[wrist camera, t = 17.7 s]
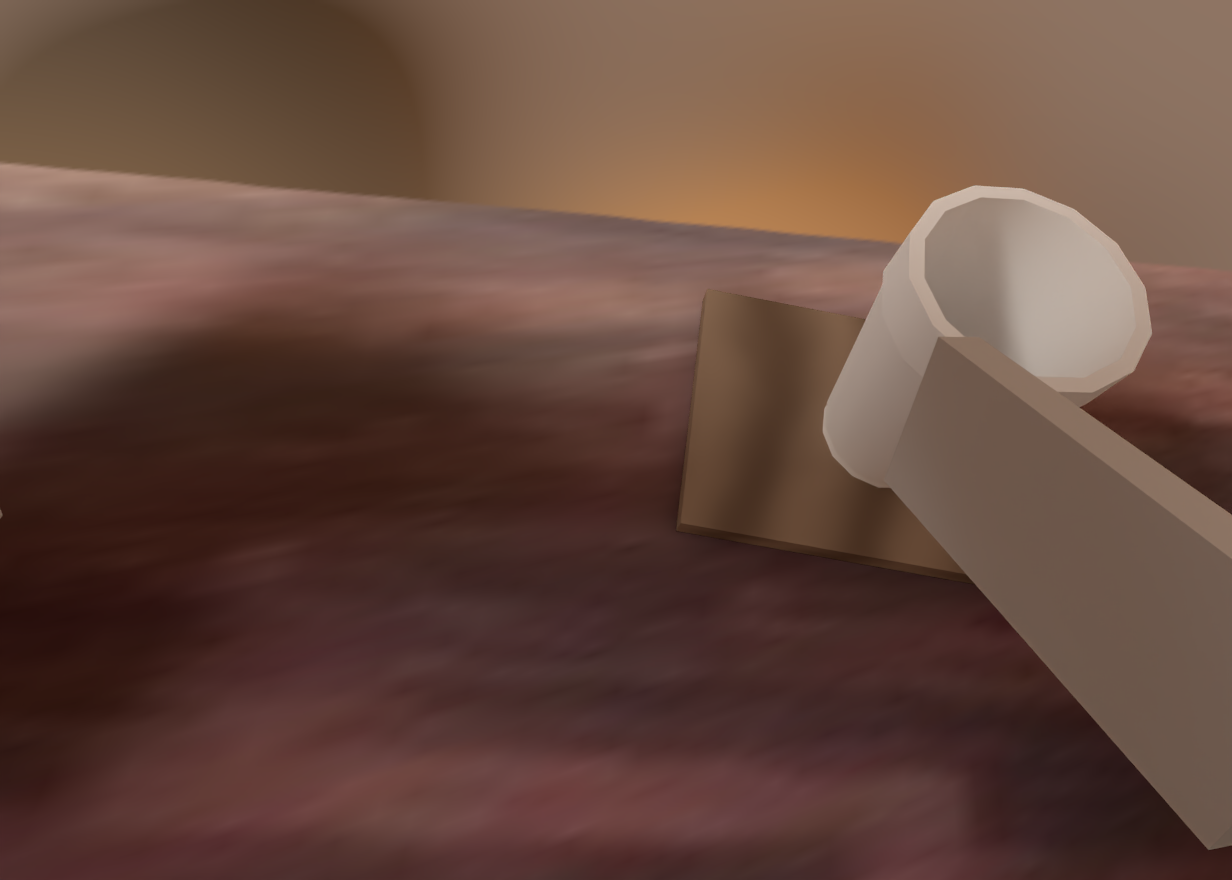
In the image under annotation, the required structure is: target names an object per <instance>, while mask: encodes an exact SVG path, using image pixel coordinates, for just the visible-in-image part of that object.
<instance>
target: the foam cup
mask: <svg viewBox="0 0 1232 880" xmlns="http://www.w3.org/2000/svg"><path fill="white" fill-rule="evenodd" d="M1151 335H1152V329H1151V322H1150V315H1149V309H1148V302H1147V295H1146V288H1145V286H1144V285H1143V283H1142V282H1141V280H1140V278H1139V277H1138V275H1137V274H1136V272H1135V271H1134V269H1133V268H1132V266H1131V264H1130V263H1129V261H1128V260H1127V258H1126V257H1125V255H1124V253H1123V252H1122V250H1121V249H1120V247H1119V246H1118V244H1117V243H1116V242H1114V241H1113V240H1112V239H1111V238H1109V237H1108V236H1107V235H1106V234H1104V233H1103V232H1102V231H1101V230H1100V229H1098V228H1097V227H1096V226H1095V225H1093V224H1092V223H1091V222H1090V221H1088V220H1087V219H1086V218H1085V217H1083V216H1082V215H1081V214H1080V213H1078V212H1077V211H1076V210H1075V209H1073V208H1070V207H1068V206H1065V205H1063V204H1060V203H1058V202H1055V201H1053V200H1050V199H1048V198H1045V197H1043V196H1041V195H1038V194H1036V193H1033V192H1031V191H1028V190H1026V189H1022V188H1005V187H988V186H972V187H969V188H966V189H964V190H961V191H958V192H956V193H953V194H951V195H948V196H945V197H943V198H940V199H937V200H935V201H933V202H932V204H931V205H930V206H929V208H928V209H927V211H926V212H925V213H924V215H923V216H922V217H921V219H920V220H919V222H918V223H917V224H916V225H915V227H914V228H913V229H912V231H911V232H910V234H909V235H908V236H907V238H906V239H905V241H904V242H903V244H902V245H901V246H900V248H899V249H898V251H897V252H896V254H895V255H894V257H893V258H892V259H891V261H890V262H889V264H888V265H887V267H886V268H885V270H884V271H883V284H882V287H881V289H880V291H879V293H878V295H877V297H876V299H875V301H874V304H873V306H872V308H871V310H870V312H869V314H868V316H867V318H866V320H865V323H864V325H863V327H862V329H861V331H860V333H859V335H858V337H857V339H856V342H855V344H854V346H853V348H852V350H851V352H850V354H849V356H848V359H847V361H846V363H845V365H844V367H843V369H842V371H841V373H840V375H839V378H838V380H837V382H836V384H835V386H834V388H833V390H832V392H831V394H830V397H829V399H828V401H827V405H826V407H825V408H824V419H823V434H824V437H825V439H826V442H827V444H828V446H829V449H830V451H831V454H832V456H833V457H834V458H835V459H836V460H837V461H838V462H839V463H840V464H841V465H842V466H843V467H844V468H845V469H846V470H847V471H848V472H849V473H850V474H851V475H852V476H853V477H855V478H858V479H860V480H862V481H864V482H867V483H869V484H871V485H873V486H876V487H878V488H890V487H889V486H888V484H887V483H886V482H885V481H884V479H885V476H886V473H887V471H888V468H889V465H890V463H891V460H892V458H893V455H894V452H895V450H896V447H897V444H898V442H899V439H900V436H901V434H902V431H903V429H904V426H905V423H906V421H907V418H908V415H909V413H910V410H911V408H912V405H913V402H914V400H915V397H916V394H917V392H918V389H919V386H920V384H921V381H922V379H923V376H924V373H925V371H926V368H927V365H928V363H929V360H930V358H931V355H932V352H933V350H934V347H935V344H936V342H937V339H938V337H980V338H982V339H983V340H984V341H986V342H987V343H989V344H990V345H992V346H993V347H994V348H996V349H997V350H999V351H1000V352H1001V353H1003V354H1004V355H1006V356H1007V357H1009V358H1010V359H1011V360H1013V361H1014V362H1016V363H1017V364H1019V365H1020V366H1021V367H1023V368H1024V369H1026V370H1027V371H1028V372H1030V373H1031V374H1033V375H1034V376H1036V377H1037V378H1038V379H1040V380H1041V381H1043V382H1044V383H1045V384H1047V385H1048V386H1050V387H1051V388H1053V389H1054V390H1055V391H1057V392H1058V393H1060V394H1061V395H1062V396H1064V397H1065V398H1067V399H1068V400H1070V401H1071V402H1072V403H1074V404H1075V405H1077V406H1078V407H1081V406H1083V405H1085V404H1087V403H1089V402H1090V401H1092V400H1093V399H1095V398H1096V397H1098V396H1099V395H1100V394H1102V393H1103V392H1105V391H1106V390H1108V389H1109V388H1111V387H1112V386H1113V385H1115V384H1116V383H1118V382H1119V381H1121V380H1122V379H1123V378H1125V377H1126V376H1128V375H1129V374H1131V373H1132V372H1134V370H1135V368H1136V366H1137V364H1138V362H1139V360H1140V357H1141V355H1142V353H1143V351H1144V349H1145V347H1146V345H1147V343H1148V341H1149V339H1150V337H1151Z"/></svg>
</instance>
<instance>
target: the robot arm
mask: <svg viewBox="0 0 1232 880" xmlns="http://www.w3.org/2000/svg"><path fill="white" fill-rule="evenodd" d="M884 481H885V482H886V483H887V484H888V486H889V487H890V488H891V489H892V490H893V491H894V492H895V494H896V495H897V496H898V497H899V498H900V499H901V500H902V501H903V503H904V504H905V505H906V506H907V507H908V508H909V509H910V511H911V512H912V513H913V514H914V515H915V516H916V517H917V519H918V520H919V521H920V522H921V523H922V524H923V525H924V527H925V528H926V529H927V530H928V531H929V532H930V533H931V535H932V536H933V537H934V538H935V539H936V540H937V541H938V542H939V544H940V545H941V546H942V547H943V548H944V549H945V550H946V552H947V553H948V554H949V555H950V556H951V557H952V558H953V560H954V561H955V562H956V563H957V564H958V565H959V566H960V568H961V569H962V570H963V571H964V572H965V573H966V574H967V576H968V577H969V578H970V579H971V580H972V581H973V582H974V583H975V585H976V586H977V587H978V588H979V589H980V590H981V591H982V593H983V594H984V595H985V596H986V597H987V598H988V599H989V601H990V602H991V603H992V604H993V605H994V606H995V607H996V609H997V610H998V611H999V612H1000V613H1001V614H1002V615H1003V617H1004V618H1005V619H1006V620H1007V621H1008V622H1009V623H1010V624H1011V626H1012V627H1013V628H1014V629H1015V630H1016V631H1017V632H1018V634H1019V635H1020V636H1021V637H1022V638H1023V639H1024V640H1025V642H1026V643H1027V644H1028V645H1029V646H1030V647H1031V648H1032V650H1033V651H1034V652H1035V653H1036V654H1037V655H1038V656H1039V658H1040V659H1041V660H1042V661H1043V662H1044V663H1045V664H1046V666H1047V667H1048V668H1049V669H1050V670H1051V671H1052V672H1053V673H1054V675H1055V676H1056V677H1057V678H1058V679H1059V680H1060V681H1061V683H1062V684H1063V685H1064V686H1065V687H1066V688H1067V689H1068V691H1069V692H1070V693H1071V694H1072V695H1073V696H1074V697H1075V699H1076V700H1077V701H1078V702H1079V703H1080V704H1081V705H1082V707H1083V708H1084V709H1085V710H1086V711H1087V712H1088V713H1089V714H1090V716H1091V717H1092V718H1093V719H1094V720H1095V721H1096V722H1097V724H1098V725H1099V726H1100V727H1101V728H1102V729H1103V730H1104V732H1105V733H1106V734H1107V735H1108V736H1109V737H1110V738H1111V740H1112V741H1113V742H1114V743H1115V744H1116V745H1117V746H1118V748H1119V749H1120V750H1121V751H1122V752H1123V753H1124V754H1125V755H1126V757H1127V758H1128V759H1129V760H1130V761H1131V762H1132V763H1133V765H1134V766H1135V767H1136V768H1137V769H1138V770H1139V771H1140V773H1141V774H1142V775H1143V776H1144V777H1145V778H1146V779H1147V781H1148V782H1149V783H1150V784H1151V785H1152V786H1153V787H1154V789H1155V790H1156V791H1157V792H1158V793H1159V794H1160V795H1161V796H1162V798H1163V799H1164V800H1165V801H1166V802H1167V803H1168V804H1169V806H1170V807H1171V808H1172V809H1173V810H1174V811H1175V812H1176V814H1177V815H1178V816H1179V817H1180V818H1181V819H1182V820H1183V822H1184V823H1185V824H1186V825H1187V826H1188V827H1189V828H1190V830H1191V831H1192V832H1193V833H1194V834H1195V835H1196V836H1197V837H1198V839H1199V840H1200V841H1201V842H1202V843H1203V844H1204V845H1205V847H1206V848H1207V849H1208V850H1212V849H1216V848H1221V847H1226V846H1231V845H1232V515H1231V514H1230V513H1228V512H1227V511H1225V510H1224V509H1223V508H1221V507H1220V506H1218V505H1217V504H1216V503H1214V502H1213V501H1211V500H1210V499H1208V498H1207V497H1206V496H1204V495H1203V494H1201V493H1200V492H1199V491H1197V490H1196V489H1194V488H1193V487H1191V486H1190V485H1189V484H1187V483H1186V482H1184V481H1183V480H1182V479H1180V478H1179V477H1177V476H1176V475H1174V474H1173V473H1172V472H1170V471H1169V470H1167V469H1166V468H1165V467H1163V466H1162V465H1160V464H1159V463H1157V462H1156V461H1155V460H1153V459H1152V458H1150V457H1149V456H1148V455H1146V454H1145V453H1143V452H1142V451H1140V450H1139V449H1138V448H1136V447H1135V446H1133V445H1132V444H1130V443H1129V442H1128V441H1126V440H1125V439H1123V438H1122V437H1121V436H1119V435H1118V434H1116V433H1115V432H1113V431H1112V430H1111V429H1109V428H1108V427H1106V426H1105V425H1104V424H1102V423H1101V422H1099V421H1098V420H1096V419H1095V418H1094V417H1092V416H1091V415H1089V414H1088V413H1087V412H1085V411H1084V410H1082V409H1081V408H1079V407H1078V406H1077V405H1075V404H1074V403H1072V402H1071V401H1070V400H1068V399H1067V398H1065V397H1064V396H1062V395H1061V394H1060V393H1058V392H1057V391H1055V390H1054V389H1053V388H1051V387H1050V386H1048V385H1047V384H1045V383H1044V382H1043V381H1041V380H1040V379H1038V378H1037V377H1036V376H1034V375H1033V374H1031V373H1030V372H1028V371H1027V370H1026V369H1024V368H1023V367H1021V366H1020V365H1019V364H1017V363H1016V362H1014V361H1013V360H1011V359H1010V358H1009V357H1007V356H1006V355H1004V354H1003V353H1001V352H1000V351H999V350H997V349H996V348H994V347H993V346H992V345H990V344H989V343H987V342H986V341H984V340H983V339H982V338H980V337H938V339H937V342H936V344H935V347H934V350H933V352H932V355H931V358H930V360H929V363H928V365H927V368H926V371H925V373H924V376H923V379H922V381H921V384H920V386H919V389H918V392H917V394H916V397H915V400H914V402H913V405H912V408H911V410H910V413H909V415H908V418H907V421H906V423H905V426H904V429H903V431H902V434H901V436H900V439H899V442H898V444H897V447H896V450H895V452H894V455H893V458H892V460H891V463H890V465H889V468H888V471H887V473H886V476H885V479H884ZM1 517H2V512H1V509H0V518H1Z"/></svg>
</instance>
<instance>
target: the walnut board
mask: <svg viewBox="0 0 1232 880" xmlns="http://www.w3.org/2000/svg"><path fill="white" fill-rule="evenodd" d="M865 320H866V319H861V318H856V317H850V316H845V315H840V314H835V313H830V312H825V311H819V310H814V309H809V308H804V307H799V306H794V305H788V304H783V303H778V302H773V301H768V300H763V299H757V298H752V297H747V296H742V295H737V294H731V293H726V292H721V291H716V290H711V289H707V291H706V294H705V296H704V299H703V302H702V311H701V320H700V328H699V337H698V345H697V354H696V363H695V371H694V380H693V388H692V397H691V406H690V414H689V423H688V431H687V440H686V449H685V457H684V466H683V474H682V483H681V492H680V500H679V509H678V517H677V526H676V531H679V532H685V533H691V534H696V535H702V536H707V537H713V538H719V539H724V540H730V541H735V542H741V543H747V544H752V545H758V546H763V547H769V548H775V549H780V550H786V551H791V552H797V553H802V554H808V555H814V556H819V557H825V558H830V559H836V560H842V561H847V562H853V563H858V564H864V565H870V566H875V567H881V568H886V569H892V570H898V571H903V572H909V573H914V574H920V575H926V576H931V577H937V578H942V579H948V580H953V581H959V582H965V583H970V584H975V583H974V582H973V581H972V580H971V579H970V578H969V577H968V576H967V574H966V573H965V572H964V571H963V570H962V569H961V568H960V566H959V565H958V564H957V563H956V562H955V561H954V560H953V558H952V557H951V556H950V555H949V554H948V553H947V552H946V550H945V549H944V548H943V547H942V546H941V545H940V544H939V542H938V541H937V540H936V539H935V538H934V537H933V536H932V535H931V533H930V532H929V531H928V530H927V529H926V528H925V527H924V525H923V524H922V523H921V522H920V521H919V520H918V519H917V517H916V516H915V515H914V514H913V513H912V512H911V511H910V509H909V508H908V507H907V506H906V505H905V504H904V503H903V501H902V500H901V499H900V498H899V497H898V496H897V495H896V494H895V492H894V491H893V490H892V489H891V488H878V487H876V486H873V485H871V484H869V483H867V482H864V481H862V480H860V479H858V478H855V477H853V476H852V475H851V474H850V473H849V472H848V471H847V470H846V469H845V468H844V467H843V466H842V465H841V464H840V463H839V462H838V461H837V460H836V459H835V458H834V457H833V456H832V454H831V451H830V449H829V446H828V444H827V442H826V439H825V437H824V434H823V419H824V408H825V407H826V405H827V401H828V399H829V397H830V394H831V392H832V390H833V388H834V386H835V384H836V382H837V380H838V378H839V375H840V373H841V371H842V369H843V367H844V365H845V363H846V361H847V359H848V356H849V354H850V352H851V350H852V348H853V346H854V344H855V342H856V339H857V337H858V335H859V333H860V331H861V329H862V327H863V325H864V323H865Z"/></svg>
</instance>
